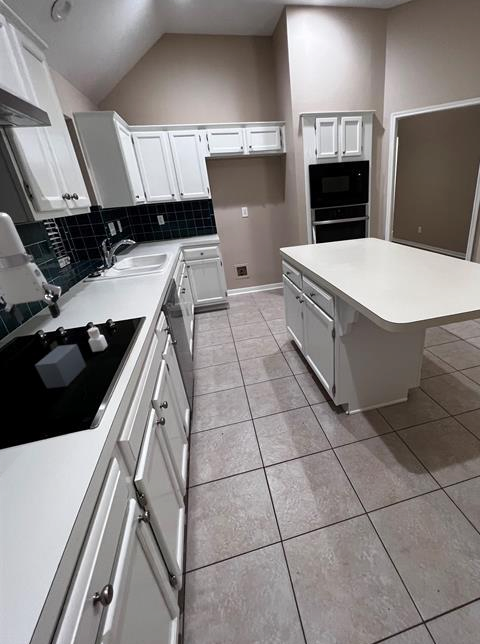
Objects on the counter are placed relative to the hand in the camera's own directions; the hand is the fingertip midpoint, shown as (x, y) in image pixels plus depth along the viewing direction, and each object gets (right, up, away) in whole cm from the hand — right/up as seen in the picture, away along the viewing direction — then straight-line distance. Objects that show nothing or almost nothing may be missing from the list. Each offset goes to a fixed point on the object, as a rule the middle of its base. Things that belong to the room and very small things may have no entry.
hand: (38, 319), depth 91 cm
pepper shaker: (+4, -12, +24) cm, 27 cm away
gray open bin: (+3, -20, +8) cm, 21 cm away
